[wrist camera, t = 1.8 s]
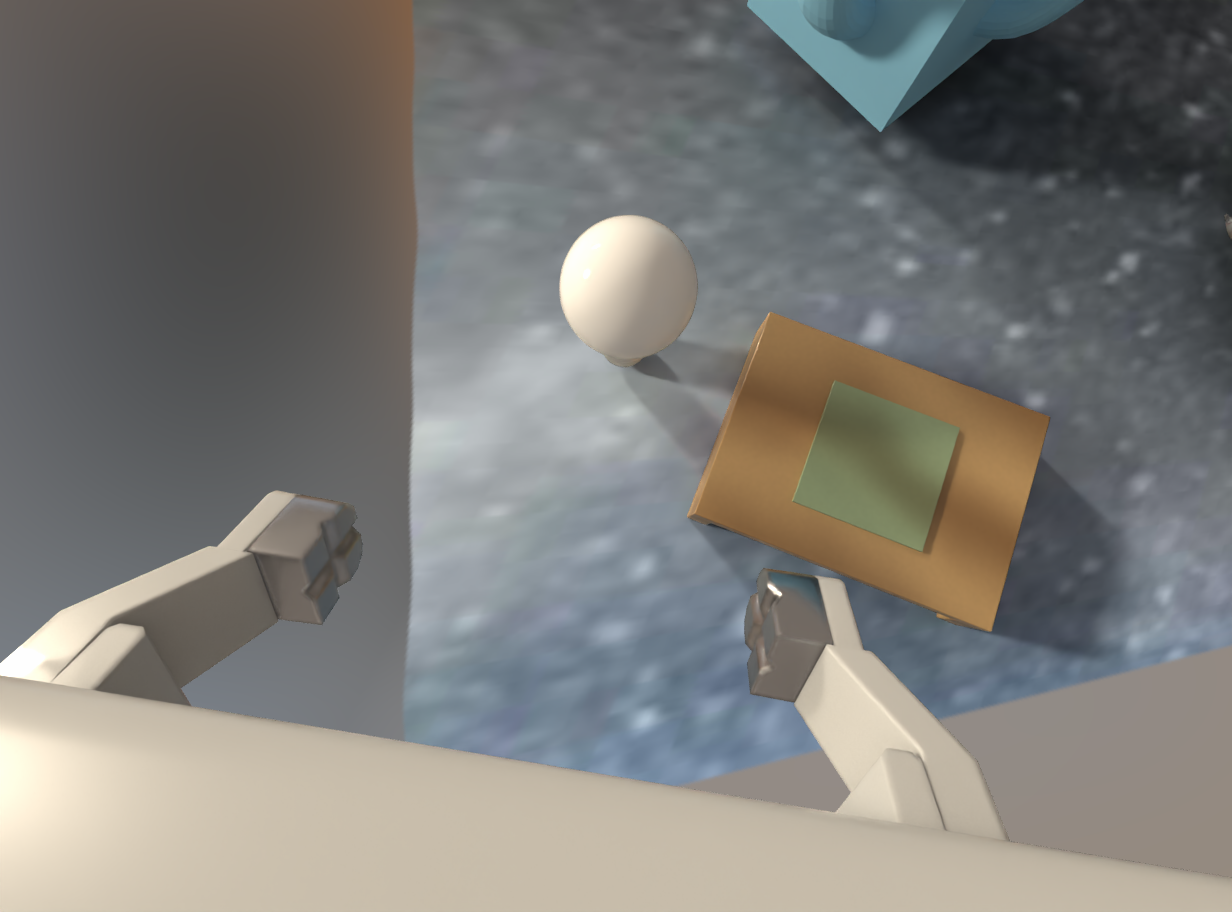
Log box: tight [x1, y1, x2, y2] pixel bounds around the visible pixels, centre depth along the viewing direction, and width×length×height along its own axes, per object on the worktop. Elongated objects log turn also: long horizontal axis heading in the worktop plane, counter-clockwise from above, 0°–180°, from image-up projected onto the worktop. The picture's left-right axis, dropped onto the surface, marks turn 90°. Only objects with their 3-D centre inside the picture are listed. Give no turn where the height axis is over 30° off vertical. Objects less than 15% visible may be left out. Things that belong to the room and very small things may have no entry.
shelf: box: [687, 312, 1050, 632], centre depth 31 cm, size 12×16×3 cm
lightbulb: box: [559, 215, 698, 367], centre depth 29 cm, size 6×6×11 cm
